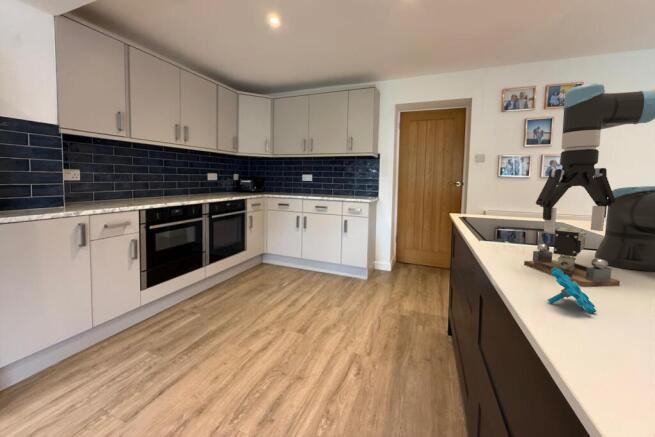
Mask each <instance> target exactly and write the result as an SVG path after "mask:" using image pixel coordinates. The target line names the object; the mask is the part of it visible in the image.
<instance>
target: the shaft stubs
mask: <svg viewBox="0 0 655 437" xmlns="http://www.w3.org/2000/svg"><path fill="white" fill-rule="evenodd" d="M550 248H551V247H550V246H549V245H548V244H545V243H539V244H537V247H536V249H537V250H533V251H532V261H538V262H552V260H553V255H554V254H553V252H554V251H553V252H552V251H550ZM608 266H609V265H608V262H607V261H606V260H602V259H598V258H595V257H594V258H593V259H592V260H591V266H586V267H587V270H586V279H587V280H590V281H592V282H603V281H610V279H611V278H612V270H613V269H612V268H610V267H608Z"/></svg>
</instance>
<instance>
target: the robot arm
mask: <svg viewBox="0 0 655 437" xmlns="http://www.w3.org/2000/svg"><path fill="white" fill-rule="evenodd" d="M562 109H563V115H562V116H563V119H562V134H561V149H562V151H561V152H560V160H559V164H560V165H561V167H562V168H552V169H550V170H549V173H548V178H547V179H546V182H545V184H544V186H543V187H542V189H541V192H540V193H539V195H538V197H537V199H536V201H535V204H536V205H537V206H539V207H542V219H543V220H544V224H543V232H545V233H548V234H549V233H550V234H555V231H556V220H557V207H555V205H556V204H557V203H558V202H559V201H560V200H561V199H562V197H563V196H564V195H565V194H566V192H567V191H568V190H569V189H570V188H572V187H582V188H583V189H584V190H585V191H586V192H587V195H589V197H590V198H591V200H592V201H593V202H594V204H595V205H592V209H591V219H590V220H591V222H590V230H591V231H596V232H605V233H604V237H603V239H602V241H601V242H600V244H599V246H598V248H597V250H596V251H595V253H594V258H598V259H602V260H606V261H607V262H608V266H611V267H614V268H615V267H616V268H620V269H627V270H632V271H633V270H634V271H644V272H645V271H646V272H648V271H649V272H655V185H650V186H649V185H648V186H647V185H645V186H644V185H643V186H642V185H641V186H629V187H628V186H626V187H618V188H615V189H613V190H612V188H611V185H610V182H609V179H608V176H607V174H608V173H607V168H606V167H599V168H598V167H597V168H595V165H597V164H598V163H599V156H600V154H599V153H600V151H599V150H598V148H599V147H600V144H601V132H602V131H601V130H606V129H610V128H614V127H619V126H623V125H638V124H647V123H650V122H652V121H654V120H655V88H653V89H650V90H646V91H645V90H640V91H629V92H628V91H627V92H614V93H613V92H611V93H610V92H606V90H605V86H604V84H603V83H595V82H594V83H588V84H587V83H586V84H582V85H577V86H575V87H572V88H570V89H568V90H567V91H566V94H565V97H564V103H563V108H562ZM605 219H606V222H605ZM604 226H605V231H604Z"/></svg>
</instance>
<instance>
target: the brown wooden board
mask: <svg viewBox="0 0 655 437" xmlns="http://www.w3.org/2000/svg"><path fill="white" fill-rule="evenodd" d="M558 261H559V260H558ZM558 261H557V260H554V259H552V262H538V261H533V260H524V261H523V262H524V264H523V265H524V266H526V267H528V266H529V268H530V269H533V270H536V271H540V272H541V273H545V274H548V275H550V276H552V277H554V276H553V275H552V270H551V269H552V268H554V267H556V268H557V266H558ZM564 263H565V264H567V265H569V264H568V263H567V262H564ZM574 267H575V269H574V270H573V271H572V272H570V271H569V270H563V269H560V270H561V271H562V272H563V273H564V275H566V274H567V275H568V276H569V277H570V278H571V280H570V281H571V282H574V281H575V282H576V283H577V284H578V285H579V287H580V288H581V287H582V288H590V287H591V288H592V287H597V288H598V287H619V286H620V285H621V281H620V280H618V279H615V278H612V277H611V279H610V281H603V282H592V281H590V280H587V279H586V270H587V267H588V266H585V265H582V264H579V263H576V262H575V264H574ZM557 269H558V268H557Z"/></svg>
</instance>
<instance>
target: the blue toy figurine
mask: <svg viewBox="0 0 655 437" xmlns="http://www.w3.org/2000/svg"><path fill="white" fill-rule="evenodd" d="M551 270H552V275H553V276H552V275H551V276H552V277H554V278H555V280H556V282H557V283H558V285H560V287H562V289H561V290H560V292H559V293H557V294H556V295H554V296H553V297H550V298H548V299H547V302H548V303H549V304H551V305H553V304H555V303H556V302H559V301H560V300H563V299H564V298H567V299H568V298H570V297H572V298H574V299H575V303H576V304H577V305H578V306H579V307H580V308H581V307H583V309H584V311H585V312H587V313H588V314H595V313H596V312H597V311H598V310H597V309H596V308H595V307H596V305H595V304H594V303H593V302H592V301H590V298H589V296H588V295H587V293H585V292H583V291H582V290H581V286H579V285H578V284H577V283H576V282H575V281H574V282H571V281H570V280H571V278H570V277H569V276H568V275H567V274H566V275H564V273H563V272H562V271H561V270H560V269H559V268H558V269H557V268H556V267H554V268H552V269H551ZM597 313H598V312H597Z"/></svg>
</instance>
